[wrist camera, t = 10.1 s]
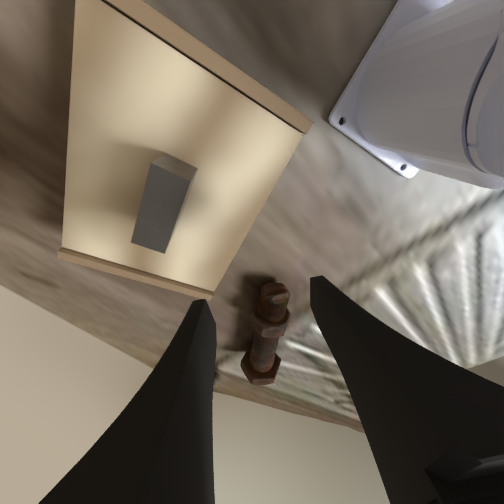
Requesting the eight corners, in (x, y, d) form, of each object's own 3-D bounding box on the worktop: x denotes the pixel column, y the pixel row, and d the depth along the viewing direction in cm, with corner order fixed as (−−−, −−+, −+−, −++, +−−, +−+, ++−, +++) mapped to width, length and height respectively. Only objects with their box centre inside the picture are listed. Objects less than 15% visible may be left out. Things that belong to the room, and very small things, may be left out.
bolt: (275, 268, 26) (261, 343, 33) (241, 280, 23) (234, 359, 31) (311, 297, 22) (286, 374, 29) (275, 316, 19) (258, 395, 27)
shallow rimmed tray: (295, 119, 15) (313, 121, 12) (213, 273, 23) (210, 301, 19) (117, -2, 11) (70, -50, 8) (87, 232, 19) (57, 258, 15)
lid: (298, 133, 13) (321, 140, 10) (214, 284, 20) (211, 318, 17) (89, -5, 10) (15, -68, 6) (70, 239, 16) (29, 272, 13)
